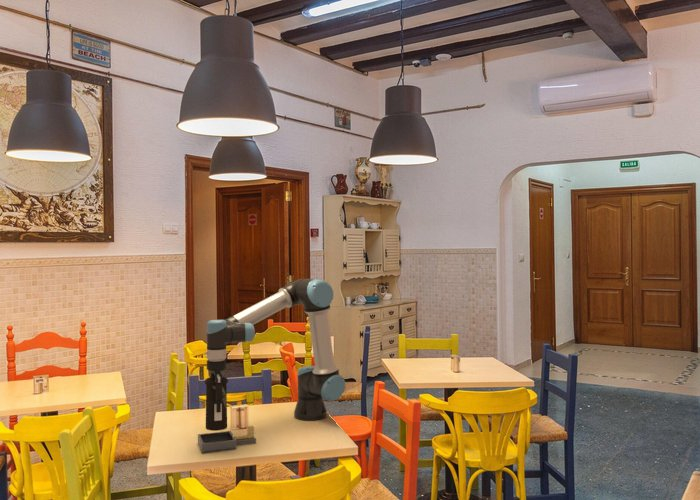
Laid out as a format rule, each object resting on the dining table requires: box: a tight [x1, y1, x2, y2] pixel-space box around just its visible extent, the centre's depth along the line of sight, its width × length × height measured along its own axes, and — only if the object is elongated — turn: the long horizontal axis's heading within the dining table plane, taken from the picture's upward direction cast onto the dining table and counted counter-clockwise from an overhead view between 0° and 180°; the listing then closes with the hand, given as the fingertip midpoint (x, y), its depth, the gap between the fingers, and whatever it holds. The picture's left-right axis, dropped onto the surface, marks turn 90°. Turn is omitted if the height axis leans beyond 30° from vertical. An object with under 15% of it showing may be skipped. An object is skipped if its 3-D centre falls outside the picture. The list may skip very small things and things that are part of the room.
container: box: [204, 376, 229, 432], centre depth 242 cm, size 9×9×20 cm
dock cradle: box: [197, 430, 237, 454], centre depth 242 cm, size 13×13×4 cm
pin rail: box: [236, 437, 257, 447], centre depth 246 cm, size 8×4×2 cm, turn 111°
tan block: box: [233, 425, 255, 440], centre depth 246 cm, size 8×2×5 cm, turn 111°
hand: (216, 417), depth 242 cm, fingers closed on container, 8 cm apart
